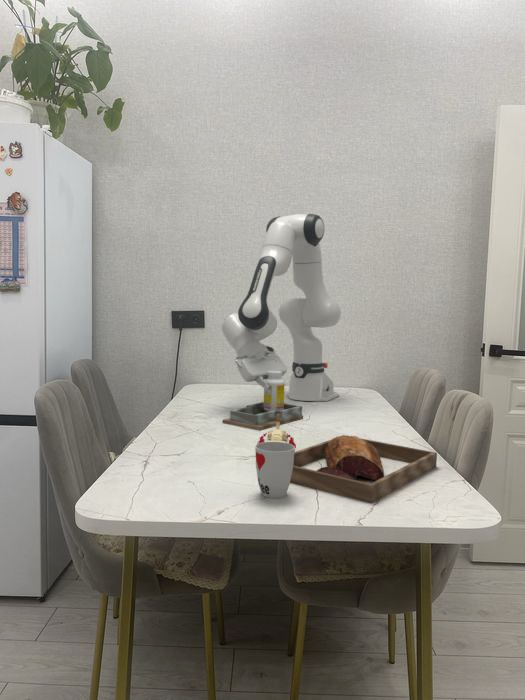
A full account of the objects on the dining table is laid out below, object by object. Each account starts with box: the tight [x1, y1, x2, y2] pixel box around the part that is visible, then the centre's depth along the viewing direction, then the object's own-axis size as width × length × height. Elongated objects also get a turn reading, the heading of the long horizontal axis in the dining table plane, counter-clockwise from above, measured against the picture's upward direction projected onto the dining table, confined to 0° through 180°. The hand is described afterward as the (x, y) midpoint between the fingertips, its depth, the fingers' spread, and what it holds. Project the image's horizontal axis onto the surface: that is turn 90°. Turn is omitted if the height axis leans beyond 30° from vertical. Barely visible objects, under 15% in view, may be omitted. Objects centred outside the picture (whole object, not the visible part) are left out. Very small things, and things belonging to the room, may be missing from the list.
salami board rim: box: [290, 434, 438, 504], centre depth 140 cm, size 33×26×4 cm
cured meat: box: [316, 435, 385, 482], centre depth 138 cm, size 18×25×7 cm
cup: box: [254, 441, 296, 499], centre depth 123 cm, size 8×8×10 cm
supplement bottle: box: [263, 371, 285, 411], centre depth 196 cm, size 7×7×13 cm
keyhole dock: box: [221, 401, 304, 431], centre depth 192 cm, size 23×15×4 cm, turn 142°
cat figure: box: [256, 414, 297, 452], centre depth 156 cm, size 10×9×25 cm
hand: (275, 387), depth 195 cm, fingers closed on supplement bottle, 7 cm apart
